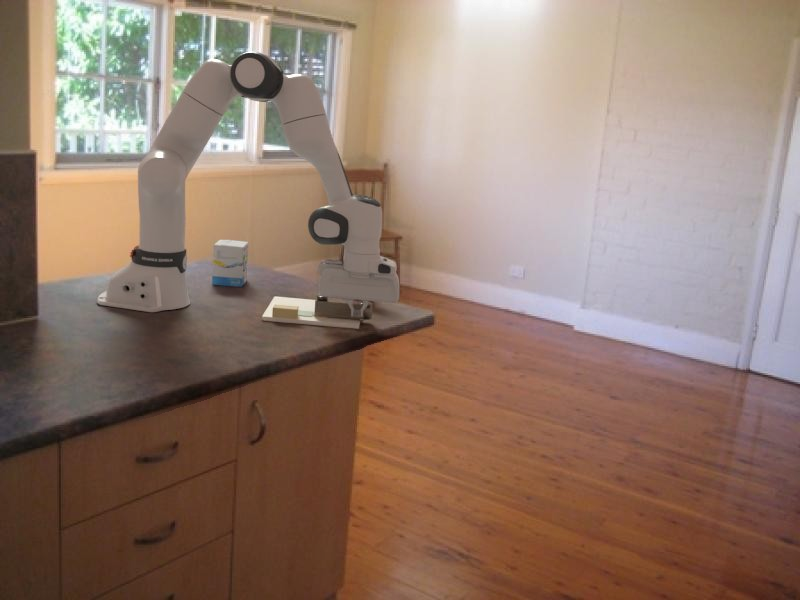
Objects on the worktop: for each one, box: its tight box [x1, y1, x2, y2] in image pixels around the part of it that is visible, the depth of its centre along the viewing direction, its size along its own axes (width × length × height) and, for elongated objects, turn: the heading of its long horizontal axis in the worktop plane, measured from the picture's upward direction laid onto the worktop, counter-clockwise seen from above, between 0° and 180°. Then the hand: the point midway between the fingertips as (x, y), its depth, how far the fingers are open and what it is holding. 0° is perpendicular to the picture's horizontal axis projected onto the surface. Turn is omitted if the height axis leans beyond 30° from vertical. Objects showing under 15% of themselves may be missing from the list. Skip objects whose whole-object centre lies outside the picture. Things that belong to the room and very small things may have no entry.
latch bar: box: [314, 294, 373, 321], centre depth 221 cm, size 14×4×5 cm, turn 89°
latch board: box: [261, 295, 362, 330], centre depth 225 cm, size 24×20×4 cm
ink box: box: [211, 239, 249, 288], centre depth 248 cm, size 8×8×12 cm
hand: (356, 316), depth 218 cm, fingers closed
